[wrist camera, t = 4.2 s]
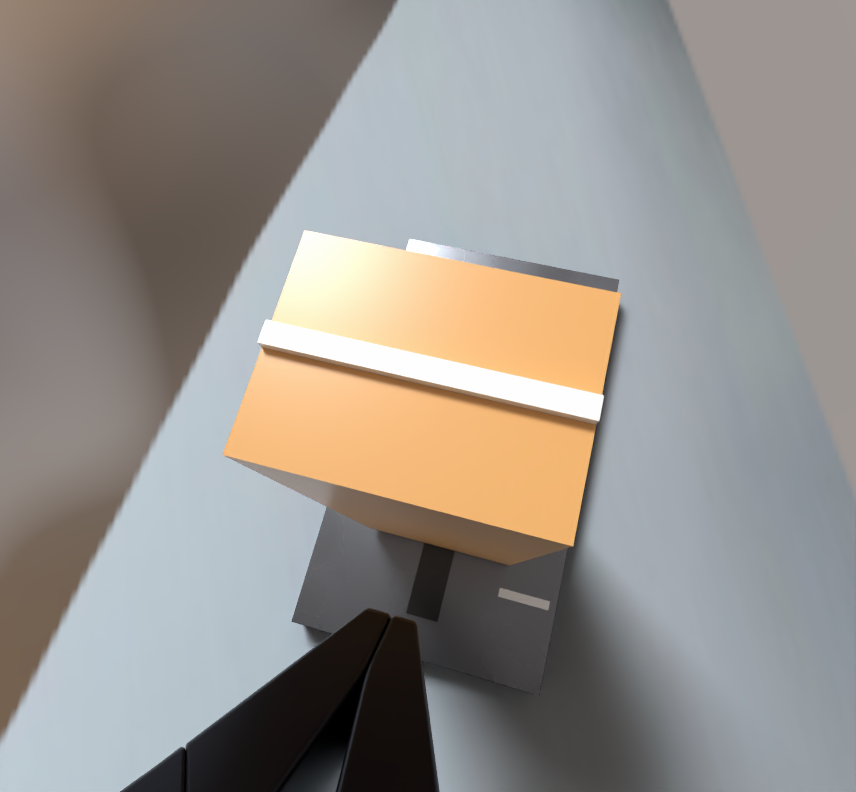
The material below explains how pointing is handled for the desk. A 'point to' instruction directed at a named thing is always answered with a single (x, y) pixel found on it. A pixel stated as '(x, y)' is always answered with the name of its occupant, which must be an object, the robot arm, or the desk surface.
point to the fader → (430, 396)
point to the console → (444, 569)
